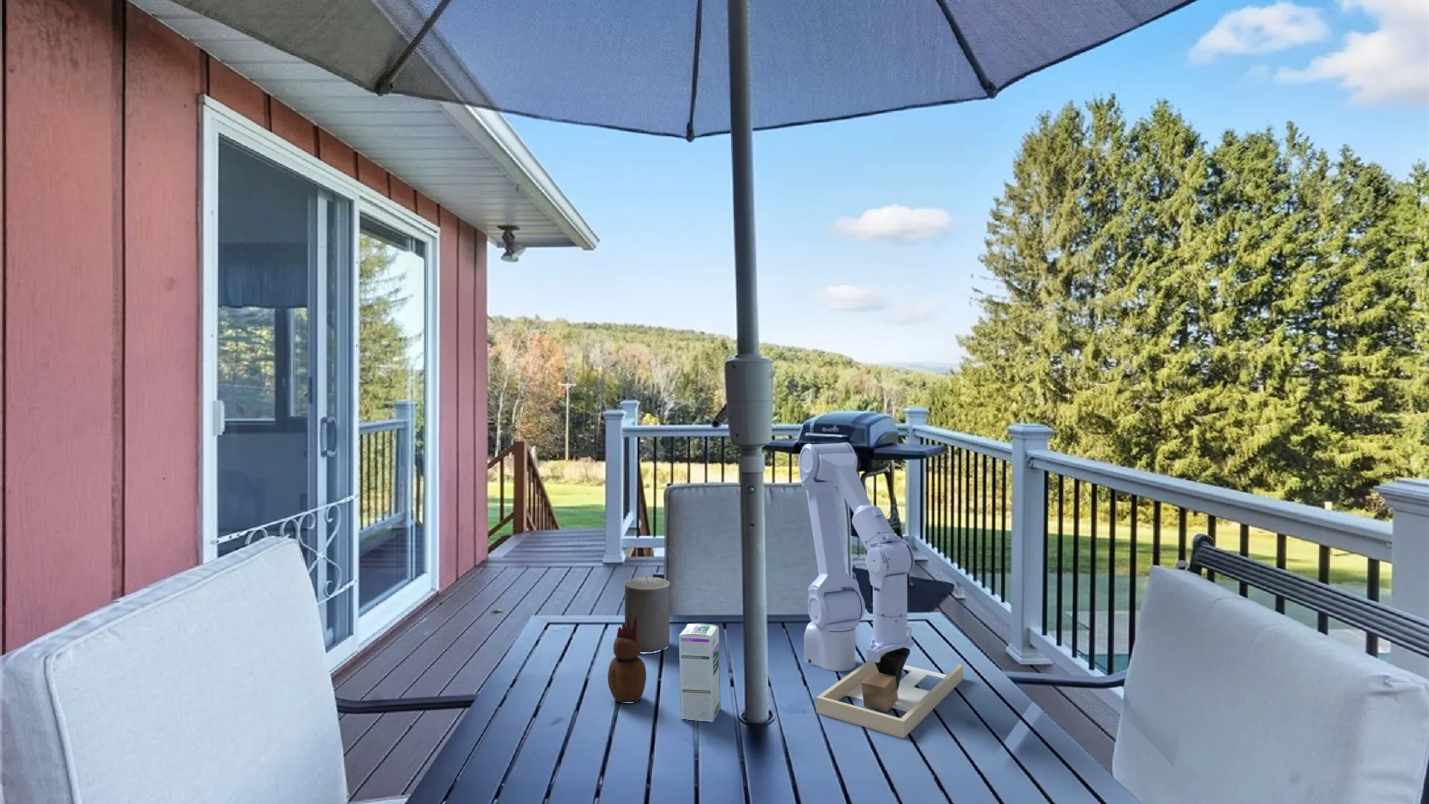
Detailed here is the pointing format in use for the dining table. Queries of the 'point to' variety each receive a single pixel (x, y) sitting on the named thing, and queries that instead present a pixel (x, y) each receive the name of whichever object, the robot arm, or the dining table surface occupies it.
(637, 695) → the wooden figurine
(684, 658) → the syrup box
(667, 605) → the pillar candle
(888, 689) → the walnut block
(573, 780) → the dining table surface
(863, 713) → the board
